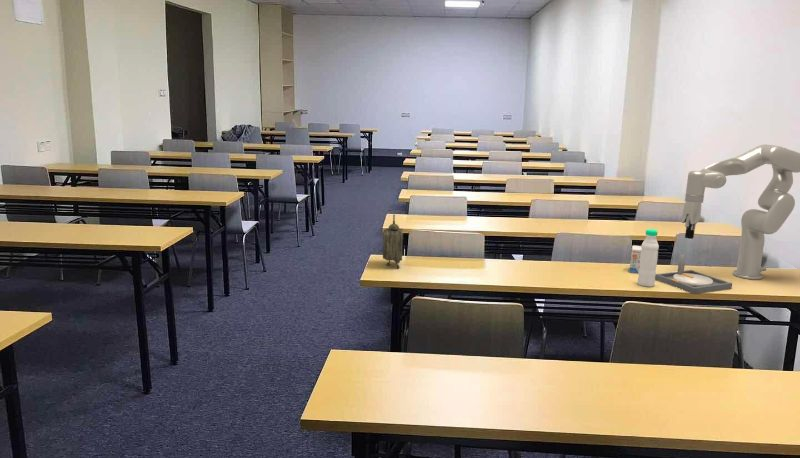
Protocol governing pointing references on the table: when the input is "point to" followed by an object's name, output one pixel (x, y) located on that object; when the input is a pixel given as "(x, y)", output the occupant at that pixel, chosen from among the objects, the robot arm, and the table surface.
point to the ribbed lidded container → (392, 243)
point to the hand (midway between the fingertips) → (689, 238)
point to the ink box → (635, 259)
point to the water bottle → (648, 259)
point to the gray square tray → (716, 286)
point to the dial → (690, 275)
